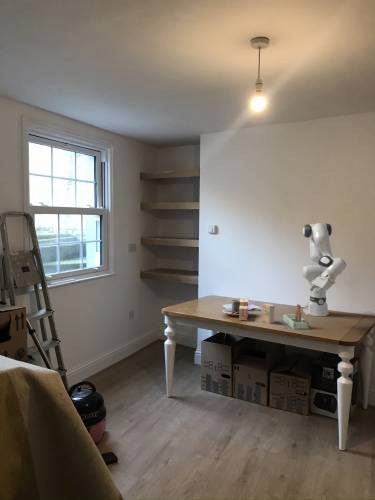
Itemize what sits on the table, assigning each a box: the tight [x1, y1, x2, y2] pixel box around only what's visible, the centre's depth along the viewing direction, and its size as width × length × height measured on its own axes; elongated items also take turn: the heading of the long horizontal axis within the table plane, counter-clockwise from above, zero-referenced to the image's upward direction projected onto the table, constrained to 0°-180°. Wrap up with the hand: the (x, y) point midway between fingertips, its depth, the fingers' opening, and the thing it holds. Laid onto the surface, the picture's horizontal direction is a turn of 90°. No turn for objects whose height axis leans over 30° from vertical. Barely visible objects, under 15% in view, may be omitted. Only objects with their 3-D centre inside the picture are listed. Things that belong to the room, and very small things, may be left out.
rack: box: [282, 313, 310, 330], centre depth 271 cm, size 24×10×4 cm, turn 4°
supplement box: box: [261, 303, 275, 324], centre depth 276 cm, size 8×5×13 cm, turn 31°
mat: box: [276, 319, 315, 330], centre depth 271 cm, size 22×20×1 cm
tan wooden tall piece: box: [294, 304, 302, 323], centre depth 265 cm, size 7×5×14 cm
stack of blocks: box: [238, 298, 249, 322], centre depth 290 cm, size 21×6×12 cm, turn 170°
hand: (313, 291), depth 264 cm, fingers open, 8 cm apart
